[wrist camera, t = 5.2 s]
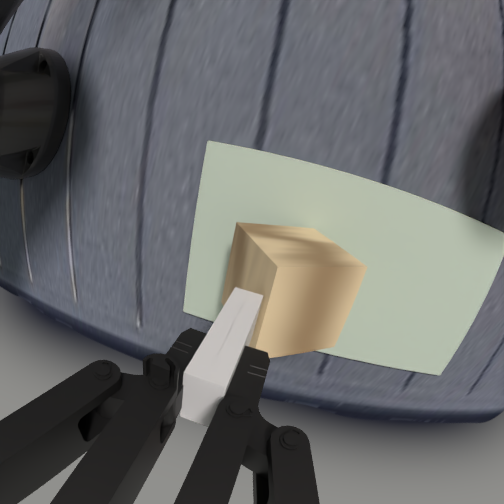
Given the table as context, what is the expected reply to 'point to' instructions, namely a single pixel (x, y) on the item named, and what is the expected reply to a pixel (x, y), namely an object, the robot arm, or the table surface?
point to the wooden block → (293, 285)
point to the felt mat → (352, 252)
